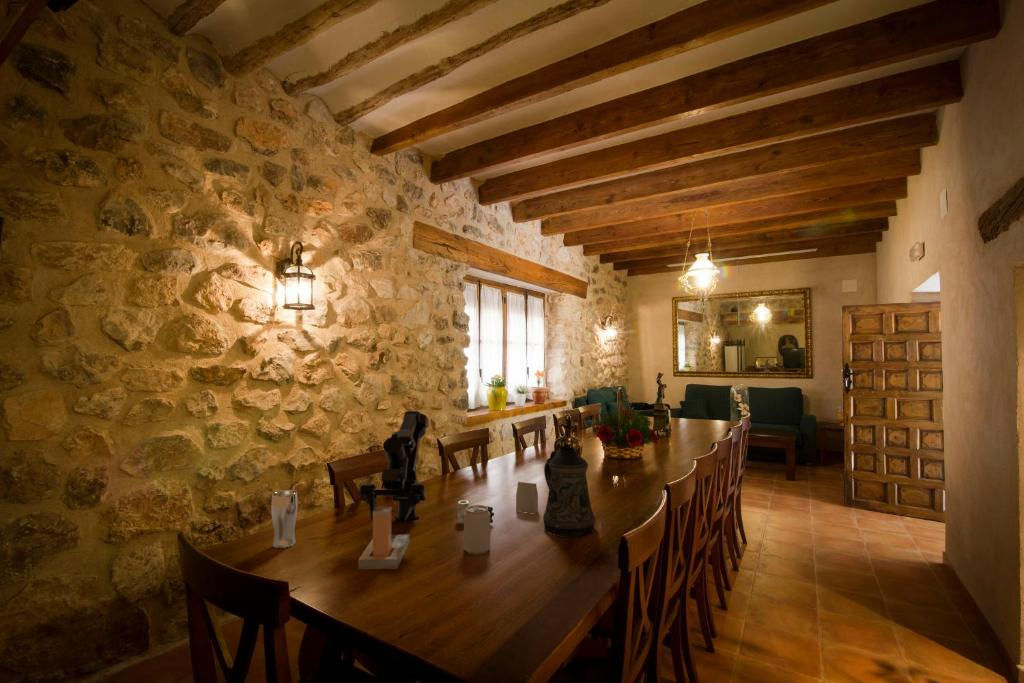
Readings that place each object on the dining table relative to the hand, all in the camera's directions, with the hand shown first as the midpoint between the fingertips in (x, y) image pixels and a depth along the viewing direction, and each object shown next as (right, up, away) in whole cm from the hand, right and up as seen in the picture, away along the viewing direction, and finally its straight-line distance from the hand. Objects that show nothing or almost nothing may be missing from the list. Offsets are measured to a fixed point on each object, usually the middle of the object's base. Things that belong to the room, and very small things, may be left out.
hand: (388, 520), depth 137 cm
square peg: (0, -8, -7) cm, 11 cm away
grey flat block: (0, -8, -4) cm, 9 cm away
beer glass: (-31, -9, +4) cm, 33 cm away
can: (+25, -9, 0) cm, 27 cm away
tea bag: (+40, -9, +32) cm, 52 cm away
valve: (+22, -9, +20) cm, 32 cm away
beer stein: (+52, -9, +17) cm, 55 cm away
